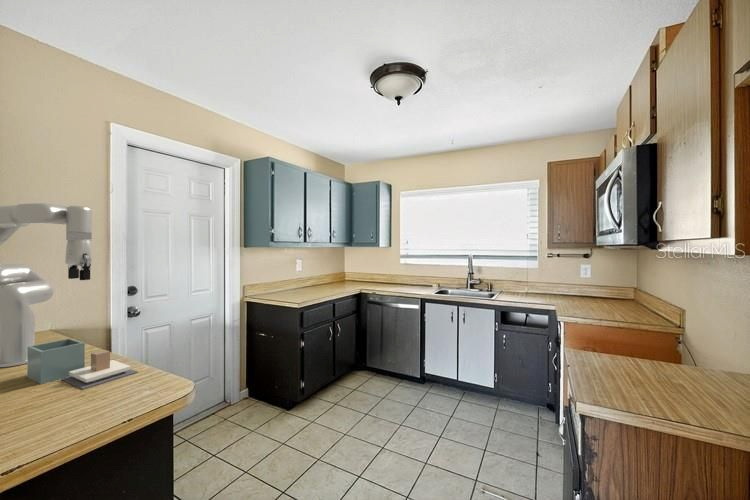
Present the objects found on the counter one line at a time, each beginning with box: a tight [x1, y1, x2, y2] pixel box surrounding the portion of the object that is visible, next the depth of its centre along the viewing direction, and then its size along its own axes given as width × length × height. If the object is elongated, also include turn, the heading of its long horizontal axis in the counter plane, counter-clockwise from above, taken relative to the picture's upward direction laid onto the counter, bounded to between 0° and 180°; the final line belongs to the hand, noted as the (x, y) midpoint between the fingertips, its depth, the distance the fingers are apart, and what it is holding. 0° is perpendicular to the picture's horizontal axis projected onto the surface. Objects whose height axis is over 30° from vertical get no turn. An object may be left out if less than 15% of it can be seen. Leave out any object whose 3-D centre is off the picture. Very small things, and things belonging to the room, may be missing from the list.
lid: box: [69, 349, 132, 383], centre depth 114 cm, size 13×13×8 cm
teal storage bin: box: [27, 337, 86, 385], centre depth 115 cm, size 12×12×11 cm
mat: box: [61, 368, 139, 391], centre depth 114 cm, size 16×16×1 cm
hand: (79, 279), depth 128 cm, fingers open, 9 cm apart
